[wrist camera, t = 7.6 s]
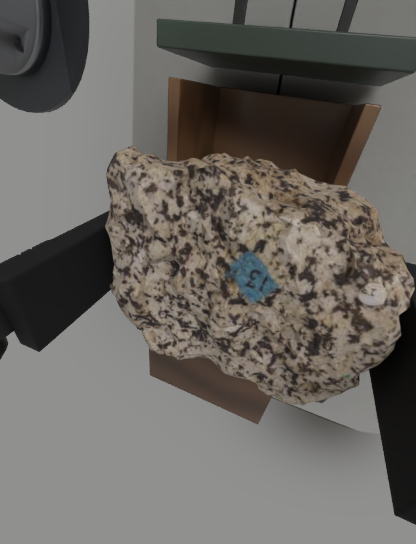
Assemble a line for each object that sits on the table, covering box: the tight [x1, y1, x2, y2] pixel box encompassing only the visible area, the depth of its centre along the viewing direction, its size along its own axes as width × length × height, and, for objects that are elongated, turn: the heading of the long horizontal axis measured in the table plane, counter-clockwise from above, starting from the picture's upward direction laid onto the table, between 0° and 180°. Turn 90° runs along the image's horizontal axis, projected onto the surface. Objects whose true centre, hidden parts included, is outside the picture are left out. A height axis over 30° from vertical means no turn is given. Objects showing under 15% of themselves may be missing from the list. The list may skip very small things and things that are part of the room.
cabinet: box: [149, 348, 273, 424], centre depth 30 cm, size 19×15×11 cm
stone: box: [105, 145, 415, 405], centre depth 9 cm, size 9×5×10 cm
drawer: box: [157, 0, 416, 187], centre depth 20 cm, size 22×13×9 cm, turn 175°
